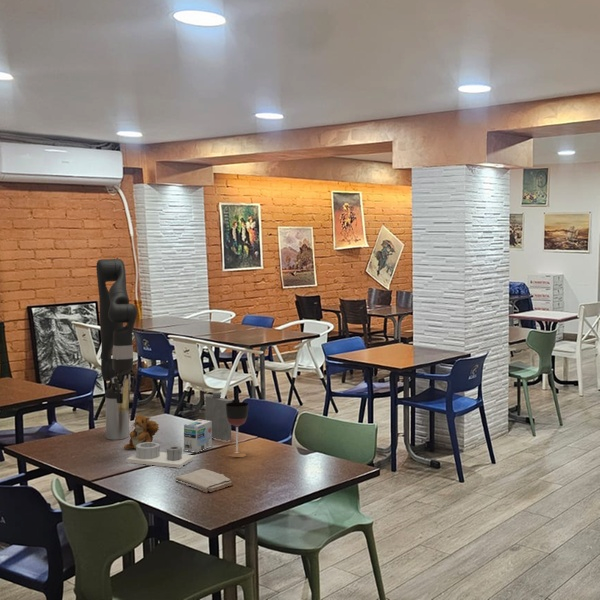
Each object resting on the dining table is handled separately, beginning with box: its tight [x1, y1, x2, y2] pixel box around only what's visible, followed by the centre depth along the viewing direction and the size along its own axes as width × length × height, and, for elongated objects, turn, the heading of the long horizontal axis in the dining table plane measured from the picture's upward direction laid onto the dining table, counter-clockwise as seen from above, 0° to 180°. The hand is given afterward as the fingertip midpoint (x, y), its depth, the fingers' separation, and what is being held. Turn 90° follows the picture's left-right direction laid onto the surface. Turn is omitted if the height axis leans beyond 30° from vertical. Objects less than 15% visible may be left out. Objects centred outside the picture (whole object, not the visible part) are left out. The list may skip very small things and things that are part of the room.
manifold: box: [126, 441, 196, 467], centre depth 258 cm, size 22×12×6 cm, turn 72°
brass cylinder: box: [118, 379, 130, 412], centre depth 260 cm, size 4×4×12 cm
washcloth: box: [175, 468, 233, 490], centre depth 234 cm, size 12×18×3 cm, turn 48°
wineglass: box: [226, 401, 249, 453], centre depth 266 cm, size 8×9×20 cm
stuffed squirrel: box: [123, 414, 160, 450], centre depth 277 cm, size 10×14×13 cm
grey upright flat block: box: [204, 391, 232, 441], centre depth 289 cm, size 16×4×20 cm, turn 43°
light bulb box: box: [183, 418, 213, 453], centre depth 274 cm, size 11×7×11 cm, turn 154°
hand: (123, 401), depth 260 cm, fingers closed on brass cylinder, 4 cm apart
